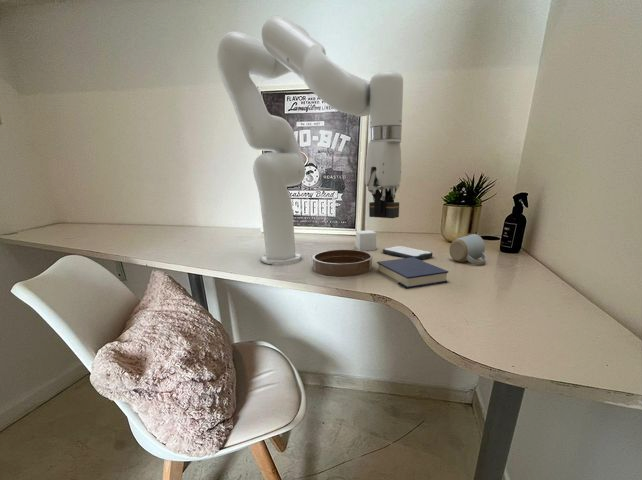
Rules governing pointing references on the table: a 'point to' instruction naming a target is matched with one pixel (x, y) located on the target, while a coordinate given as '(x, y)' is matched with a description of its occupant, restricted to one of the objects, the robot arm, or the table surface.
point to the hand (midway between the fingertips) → (383, 215)
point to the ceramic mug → (468, 249)
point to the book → (413, 272)
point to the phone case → (407, 252)
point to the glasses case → (391, 210)
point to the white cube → (366, 240)
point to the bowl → (342, 262)
